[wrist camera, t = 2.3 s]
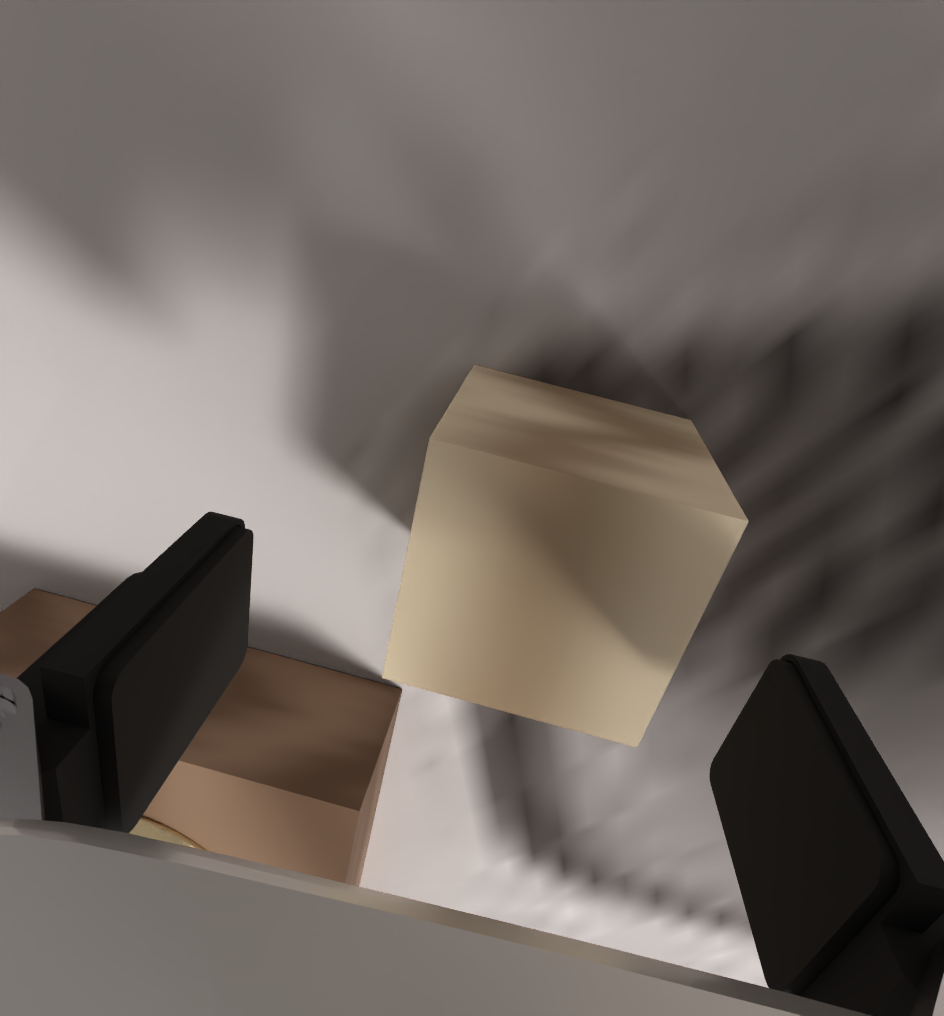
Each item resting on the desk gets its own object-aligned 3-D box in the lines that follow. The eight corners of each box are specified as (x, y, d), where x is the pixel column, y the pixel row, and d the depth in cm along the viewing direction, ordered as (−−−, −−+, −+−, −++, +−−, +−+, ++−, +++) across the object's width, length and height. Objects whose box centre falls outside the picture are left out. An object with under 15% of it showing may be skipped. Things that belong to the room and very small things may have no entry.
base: (402, 689, 22) (357, 817, 17) (353, 908, 28) (311, 1045, 24) (34, 588, 22) (-106, 687, 18) (68, 827, 29) (-28, 945, 24)
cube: (690, 419, 16) (749, 521, 11) (618, 597, 19) (636, 747, 14) (474, 363, 17) (429, 437, 11) (433, 547, 19) (382, 677, 14)
